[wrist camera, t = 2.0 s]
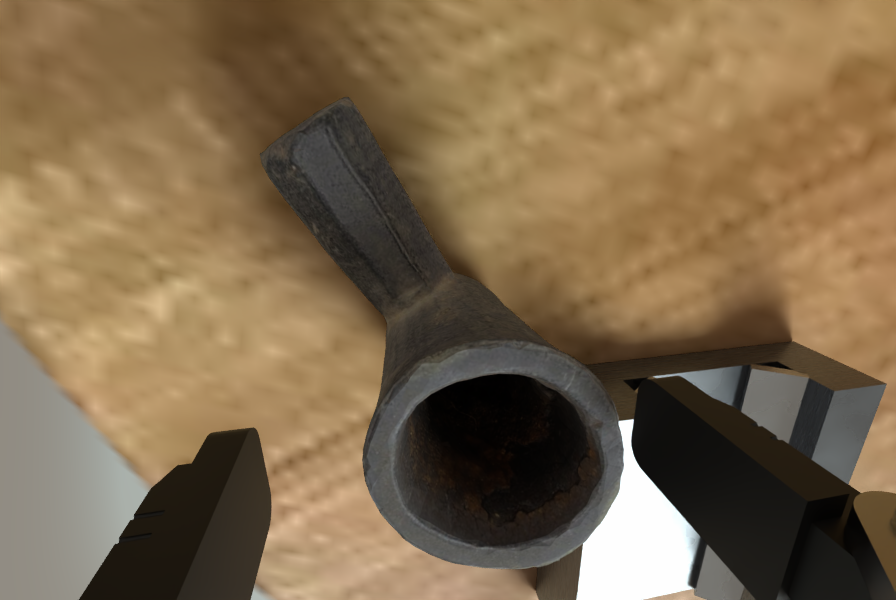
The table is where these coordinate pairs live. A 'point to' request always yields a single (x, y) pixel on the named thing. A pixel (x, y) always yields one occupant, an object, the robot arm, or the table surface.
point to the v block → (653, 516)
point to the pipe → (452, 373)
